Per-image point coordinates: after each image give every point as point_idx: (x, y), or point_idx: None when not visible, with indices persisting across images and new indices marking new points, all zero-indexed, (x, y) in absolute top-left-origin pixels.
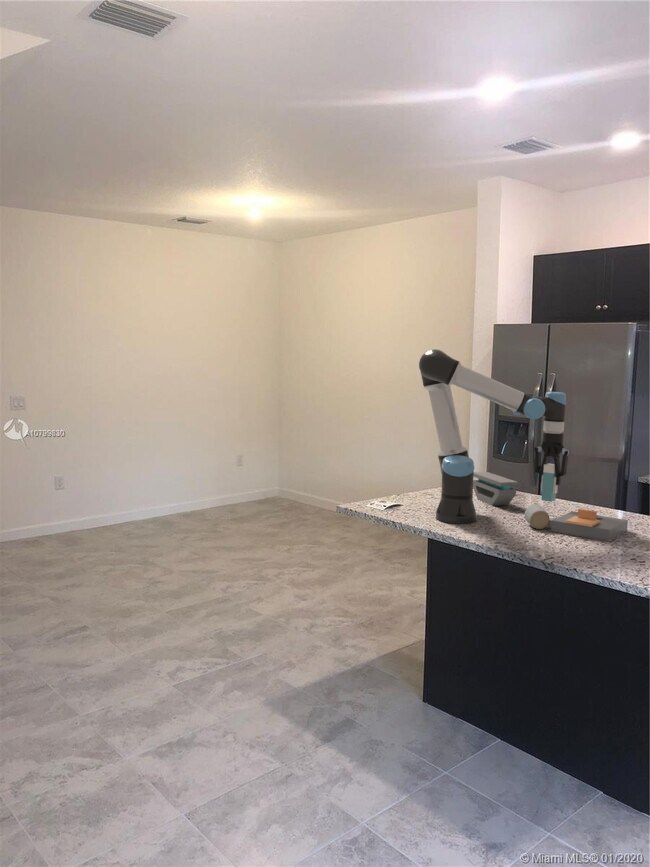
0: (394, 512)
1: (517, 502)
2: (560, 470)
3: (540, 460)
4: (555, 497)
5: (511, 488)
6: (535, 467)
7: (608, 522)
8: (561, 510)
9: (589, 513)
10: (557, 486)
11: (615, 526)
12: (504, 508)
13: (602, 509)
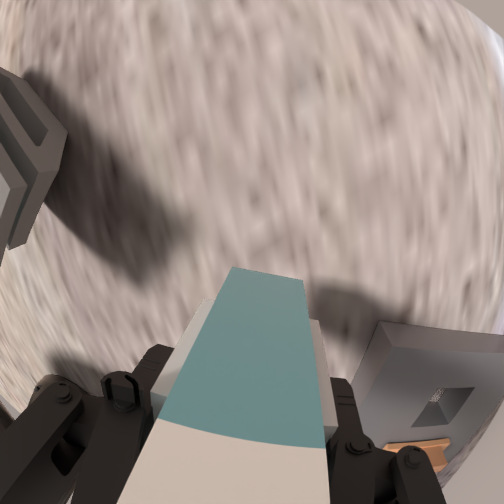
0: (3, 380)
1: (89, 59)
2: (368, 500)
3: (9, 501)
4: (303, 290)
5: (21, 160)
6: (52, 457)
7: (471, 417)
8: (303, 86)
9: None
10: (323, 353)
11: (470, 438)
12: (75, 213)
13: (441, 4)
